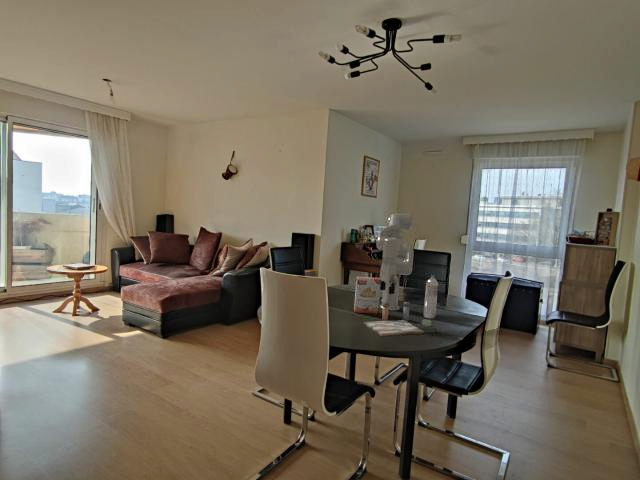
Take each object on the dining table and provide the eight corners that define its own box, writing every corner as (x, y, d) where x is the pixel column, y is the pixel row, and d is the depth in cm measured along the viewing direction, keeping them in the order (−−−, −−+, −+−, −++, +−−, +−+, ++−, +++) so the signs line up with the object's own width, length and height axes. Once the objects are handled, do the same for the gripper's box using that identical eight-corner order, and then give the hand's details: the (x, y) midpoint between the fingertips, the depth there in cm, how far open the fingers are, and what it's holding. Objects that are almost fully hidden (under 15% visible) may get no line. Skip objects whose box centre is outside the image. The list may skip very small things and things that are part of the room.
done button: (419, 326, 195) (420, 319, 195) (427, 325, 197) (427, 319, 196) (425, 328, 191) (425, 322, 191) (432, 328, 192) (433, 321, 192)
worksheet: (363, 323, 198) (363, 321, 198) (404, 322, 206) (404, 319, 206) (380, 335, 180) (380, 333, 180) (424, 333, 188) (424, 330, 188)
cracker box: (354, 312, 219) (357, 277, 217) (353, 310, 225) (356, 276, 223) (378, 314, 219) (381, 279, 218) (376, 311, 225) (379, 277, 224)
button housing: (416, 328, 196) (416, 323, 196) (427, 327, 198) (427, 323, 198) (424, 332, 189) (424, 327, 189) (435, 331, 192) (436, 327, 192)
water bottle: (427, 319, 215) (430, 276, 213) (420, 315, 222) (424, 274, 220) (437, 318, 217) (441, 276, 215) (431, 315, 223) (434, 274, 222)
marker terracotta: (380, 319, 208) (381, 302, 207) (385, 319, 209) (387, 302, 208) (383, 321, 204) (384, 303, 204) (389, 321, 206) (390, 303, 205)
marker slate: (401, 319, 212) (402, 302, 211) (406, 319, 213) (407, 301, 212) (404, 321, 208) (405, 303, 208) (409, 320, 209) (411, 303, 209)
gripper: (375, 259, 211) (373, 288, 212) (391, 263, 195) (388, 295, 196) (387, 259, 213) (385, 288, 214) (403, 263, 197) (401, 295, 198)
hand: (386, 291), depth 205 cm, fingers open, 9 cm apart
